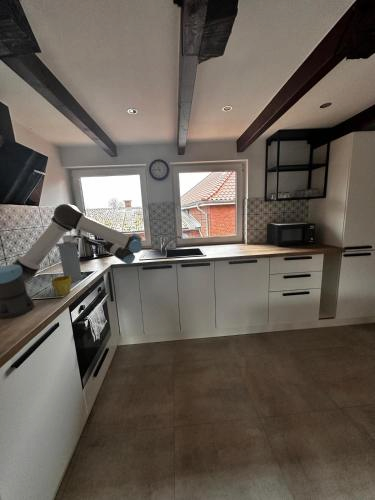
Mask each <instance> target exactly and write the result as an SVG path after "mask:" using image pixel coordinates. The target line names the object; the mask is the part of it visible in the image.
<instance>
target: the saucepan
mask: <svg viewBox="0 0 375 500" xmlns="http://www.w3.org/2000/svg"><path fill="white" fill-rule="evenodd" d="M77 238H78V239H79V238H80V239H81V238H82V237H80V234H79V235H78V234H69V235H63V237H62V243H63V242H64V244H70V243H76V242H78V239H77ZM82 239H83V238H82Z"/></svg>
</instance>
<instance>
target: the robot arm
mask: <svg viewBox="0 0 375 500" xmlns="http://www.w3.org/2000/svg"><path fill="white" fill-rule="evenodd" d="M50 220H51V223H50V224H49V225H48V227H47V228H46V229H45V230H44V231H43V232H42V234H41V235H40V236H39V237H38V239H36V241H35V242H34V243H33V245H31V246H30V248H29V249H28V251H27V252H25V254H24V255H23V256H19V257H18V258H17V259H16V260H15V261H14V262H13V263H12V264H7V265H2V266H1V267H0V320H1V319H3V320H5V319H11V318H15V317H18V316H21V315H24V314H26V313H29V312H30V311H32V310H33V309H34V308H35V302H34V301H33V300H32V299H33V298H31V296H30V295H29V294H28V292H27V286H26V284H28V283H29V282H30V281H31V280H33V279H34V278H35V277H36V275H37V273H38V271H39V270H40V269H41V265H40V264H41V263H42V262H43V261H44V260H45V258H46V257H47V256H48V255H49V254H50V253H51V251H52V250H53V249H54V248H55V247H56V244H58V243H59V242H60V240H61V239H63V236H65V235H66V233H69V232H71V231H72V230H76V231H78V230H81V231H84V233H83V232H80V234H79V235H80V237H82V239H83V240H85V241H84V242H85V244H87V245H91V246H93V247H97V248H98V249H102V248H104V250H105V251H106V252H107V253H109V254H111V255H112V256H114V257H115V258H116V259H118V260H120V261H121V262H122V263H125V264H126V265H131V264H133V263H134V261H135V259H136V255H135V254H137V253H140V252H141V251H142V248H143V243H142V242H141V241H142V240H143V238H142V237H141V236H139V235H138V234H136V233H131V235H127V234H125V233H123V232H121V231H119V230H116V229H114V228H112V227H110V226H108V225H105V224H103V223H100V221H99V222H98V221H97V220H95V219H93V218H90V217H87V216H86V214H85V213H83V212H81V210H80V208H79V207H77V206H75V205H74V204H69V203H68V204H67V203H62V204H59V205H57V206H56V207H55V208H54V211H53V216H52V217H51V218H50ZM85 232H86V233H87V234H90V235H93V236H95V237H97V238H100V239H99V240H98V239H93V238H90V236H88V235H86V233H85ZM101 239H103V240H101Z"/></svg>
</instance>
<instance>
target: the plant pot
mask: <svg viewBox="0 0 375 500" xmlns="http://www.w3.org/2000/svg"><path fill="white" fill-rule="evenodd" d="M50 281H51V285H52V287H53V288H54V290H55V292H56V294H57V295H58V296H66V295H68V294H70V293H71V283H73V282H72V280H71V276H64V275H61V276H57V277H55V278H52V279H51V280H50ZM65 294H66V295H65Z"/></svg>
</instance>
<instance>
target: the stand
mask: <svg viewBox="0 0 375 500" xmlns="http://www.w3.org/2000/svg"><path fill="white" fill-rule="evenodd" d="M77 245H79V241H77V242H76V243H70V244H64V242H63V241H62V242H58V243H57V244H56V245H55V247H56V248H58V250H59V251H58V252H59V257H60V262H61V263H60V264H61V267H62V272H63V276H71V280H72V282H71V283H75V282H77V281H79V280H83V279H85V277H84V275H83V274H82V269H81V263H80V258H79V251H78V246H77Z"/></svg>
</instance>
